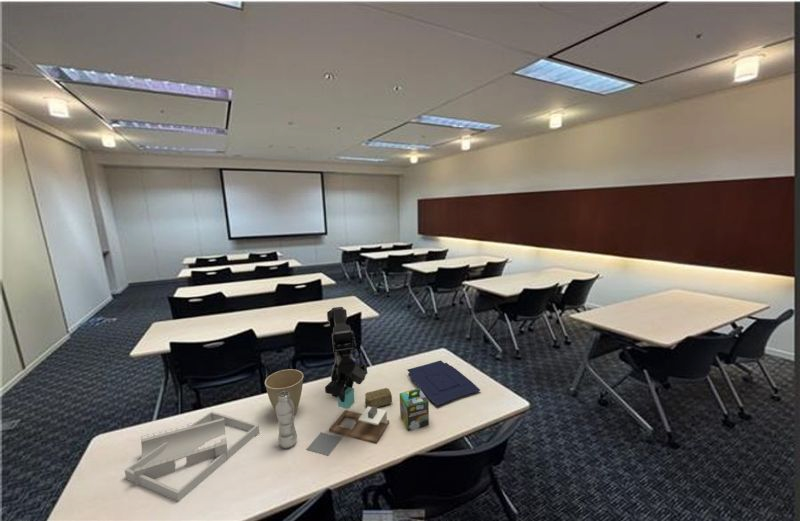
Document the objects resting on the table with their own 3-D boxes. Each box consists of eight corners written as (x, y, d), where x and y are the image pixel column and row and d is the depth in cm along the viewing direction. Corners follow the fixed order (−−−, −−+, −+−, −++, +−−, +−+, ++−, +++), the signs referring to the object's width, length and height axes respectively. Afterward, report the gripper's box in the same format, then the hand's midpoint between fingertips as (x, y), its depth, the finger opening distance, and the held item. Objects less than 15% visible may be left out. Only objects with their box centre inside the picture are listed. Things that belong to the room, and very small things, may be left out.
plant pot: (272, 430, 122) (268, 393, 119) (265, 410, 134) (261, 375, 132) (310, 416, 130) (307, 380, 127) (300, 398, 142) (297, 365, 140)
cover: (358, 431, 118) (358, 414, 116) (368, 418, 125) (367, 401, 124) (378, 436, 115) (377, 418, 114) (386, 422, 122) (386, 405, 121)
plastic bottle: (280, 453, 110) (275, 401, 107) (277, 441, 116) (272, 391, 113) (299, 446, 113) (294, 396, 110) (295, 435, 119) (291, 386, 116)
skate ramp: (224, 429, 123) (224, 407, 121) (227, 465, 107) (226, 440, 105) (143, 452, 110) (140, 427, 108) (132, 497, 94) (129, 469, 92)
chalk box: (420, 412, 131) (420, 380, 128) (429, 427, 122) (429, 392, 120) (399, 418, 128) (398, 384, 125) (407, 433, 119) (406, 397, 117)
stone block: (393, 403, 136) (392, 393, 134) (367, 411, 132) (365, 401, 131) (389, 395, 141) (388, 385, 140) (364, 402, 138) (363, 392, 137)
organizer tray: (126, 480, 101) (124, 469, 100) (212, 420, 129) (211, 411, 128) (179, 504, 92) (177, 493, 91) (259, 434, 120) (258, 424, 119)
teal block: (338, 406, 121) (337, 392, 120) (344, 399, 125) (343, 386, 124) (348, 409, 119) (347, 394, 118) (354, 402, 123) (353, 388, 122)
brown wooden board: (329, 432, 120) (328, 428, 120) (345, 413, 131) (345, 409, 131) (376, 445, 113) (376, 441, 113) (389, 423, 124) (389, 420, 124)
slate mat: (306, 450, 112) (306, 449, 111) (321, 433, 120) (321, 432, 120) (328, 457, 108) (328, 455, 108) (341, 439, 117) (341, 437, 117)
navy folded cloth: (443, 364, 169) (443, 357, 169) (480, 395, 143) (481, 388, 142) (403, 375, 159) (403, 368, 158) (435, 411, 132) (435, 403, 132)
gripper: (350, 376, 108) (352, 417, 110) (373, 352, 125) (375, 388, 127) (322, 371, 111) (325, 411, 114) (349, 348, 129) (350, 384, 131)
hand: (346, 398), depth 122 cm, fingers closed on teal block, 4 cm apart
